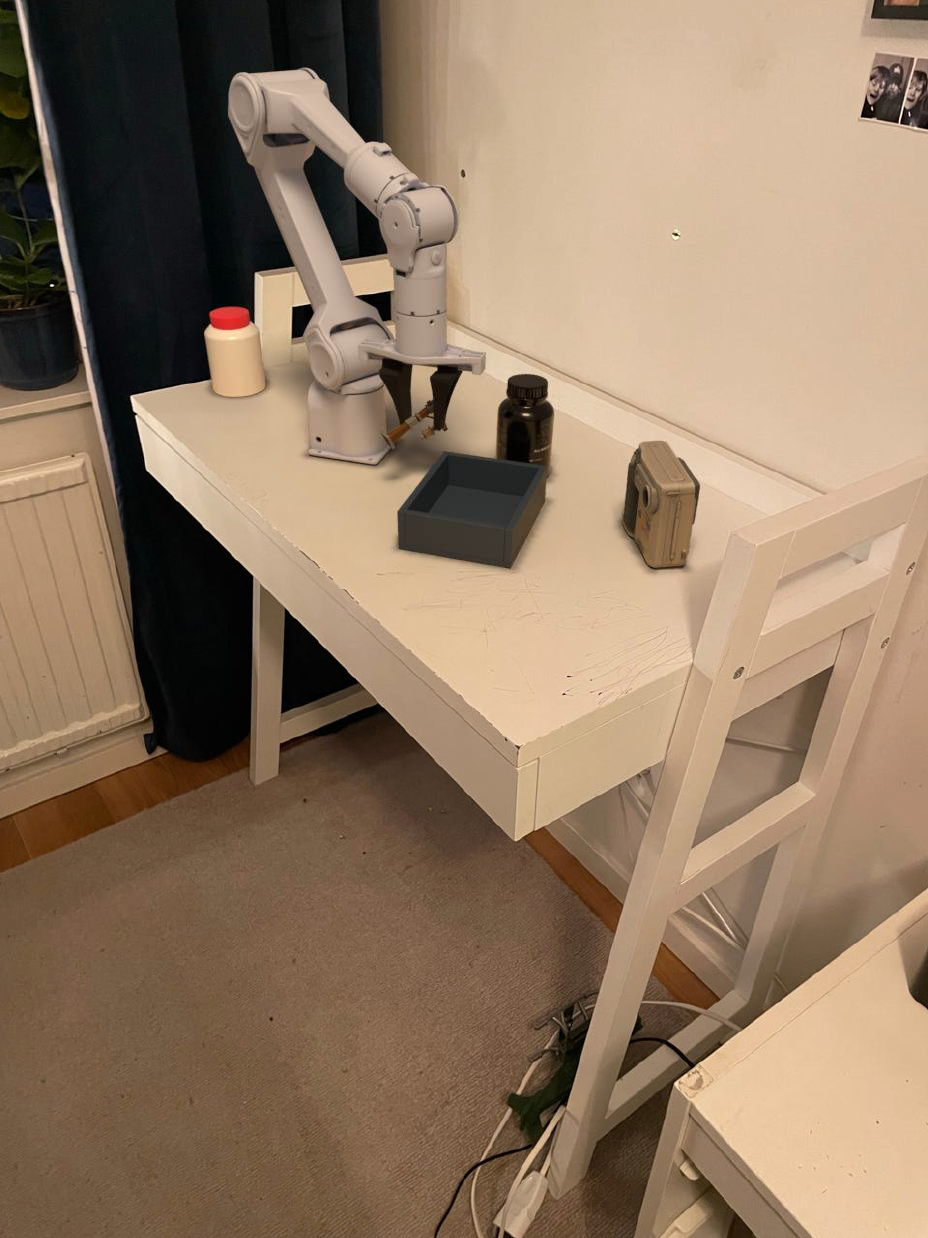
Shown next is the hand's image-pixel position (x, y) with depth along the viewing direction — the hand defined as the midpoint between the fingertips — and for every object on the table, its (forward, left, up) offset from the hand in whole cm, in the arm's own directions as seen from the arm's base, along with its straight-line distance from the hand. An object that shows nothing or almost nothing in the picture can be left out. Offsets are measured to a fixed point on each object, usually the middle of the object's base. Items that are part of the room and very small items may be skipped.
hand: (422, 424), depth 110 cm
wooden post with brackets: (-1, -1, -2) cm, 2 cm away
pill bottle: (-36, +20, -8) cm, 42 cm away
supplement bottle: (+11, +6, -8) cm, 15 cm away
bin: (+9, -8, -7) cm, 14 cm away
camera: (+29, -6, -8) cm, 31 cm away
